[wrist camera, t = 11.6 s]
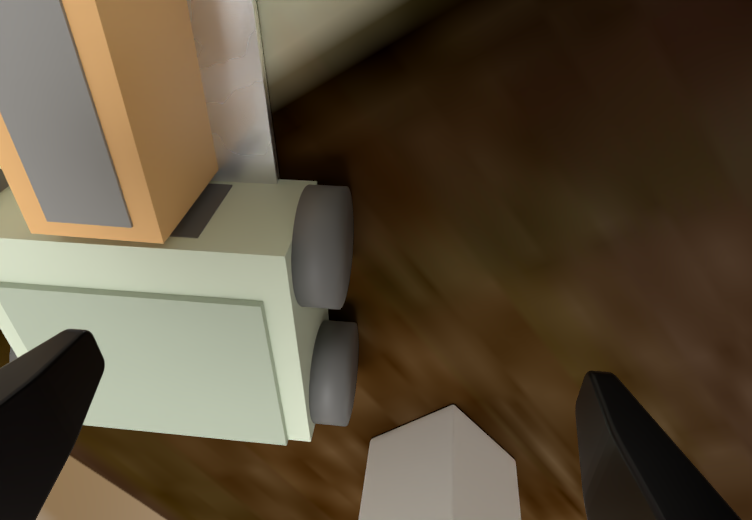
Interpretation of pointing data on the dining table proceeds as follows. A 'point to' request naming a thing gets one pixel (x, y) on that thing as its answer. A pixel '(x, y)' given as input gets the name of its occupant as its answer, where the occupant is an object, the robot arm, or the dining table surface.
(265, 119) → the mounting plate
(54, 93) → the block
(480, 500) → the milk
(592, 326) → the dining table surface
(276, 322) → the mower deck
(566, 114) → the dining table surface
